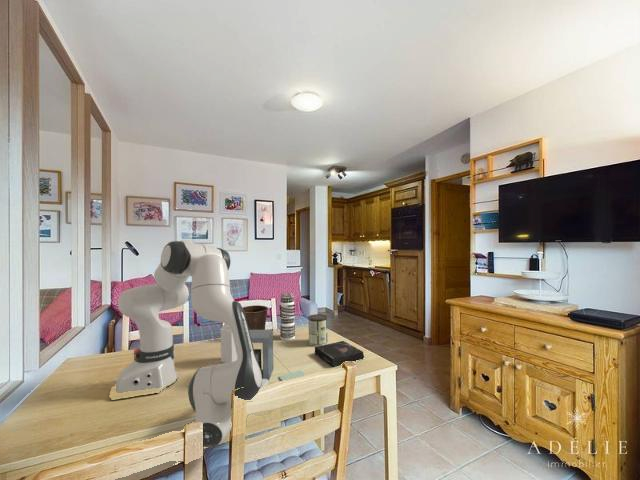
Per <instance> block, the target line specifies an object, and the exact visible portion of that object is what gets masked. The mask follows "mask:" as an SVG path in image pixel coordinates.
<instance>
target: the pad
mask: <svg viewBox="0 0 640 480" xmlns="http://www.w3.org/2000/svg"><path fill="white" fill-rule="evenodd" d="M304 375H307V374H306V373H305V372H304V371H303V370H297V371H293V372H290V373H285V374H282V375H279V376H278V379H279V380H280V381H281V382H282V381H283V380H287V379H292V378H296V377H301V376H304Z"/></svg>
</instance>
